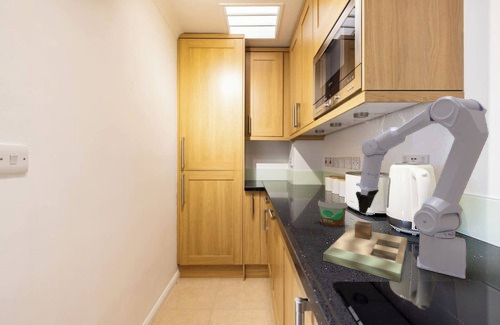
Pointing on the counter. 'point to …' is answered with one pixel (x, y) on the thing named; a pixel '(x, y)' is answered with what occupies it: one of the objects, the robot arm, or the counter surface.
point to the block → (363, 230)
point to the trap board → (369, 254)
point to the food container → (332, 213)
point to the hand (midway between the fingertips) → (364, 209)
